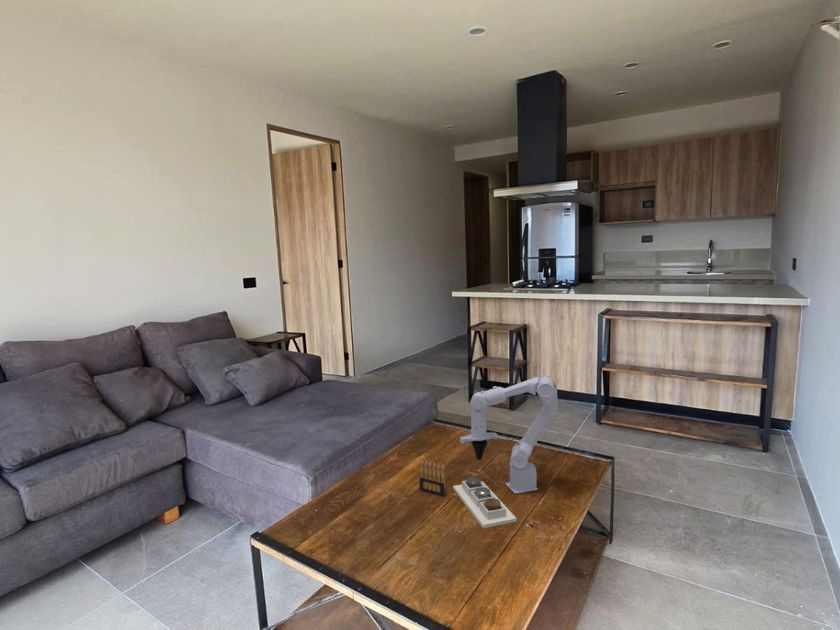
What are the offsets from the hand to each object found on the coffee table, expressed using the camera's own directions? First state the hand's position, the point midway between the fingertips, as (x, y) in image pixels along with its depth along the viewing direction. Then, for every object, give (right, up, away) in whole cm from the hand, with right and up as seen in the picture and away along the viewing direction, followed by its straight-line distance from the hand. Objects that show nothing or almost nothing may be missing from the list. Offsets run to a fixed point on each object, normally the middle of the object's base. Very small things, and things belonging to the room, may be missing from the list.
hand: (478, 458), depth 179 cm
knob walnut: (+2, -11, -22) cm, 25 cm away
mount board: (0, -12, -14) cm, 18 cm away
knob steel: (0, -10, -14) cm, 18 cm away
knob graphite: (-3, -10, -6) cm, 12 cm away
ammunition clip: (-18, -11, -5) cm, 22 cm away
